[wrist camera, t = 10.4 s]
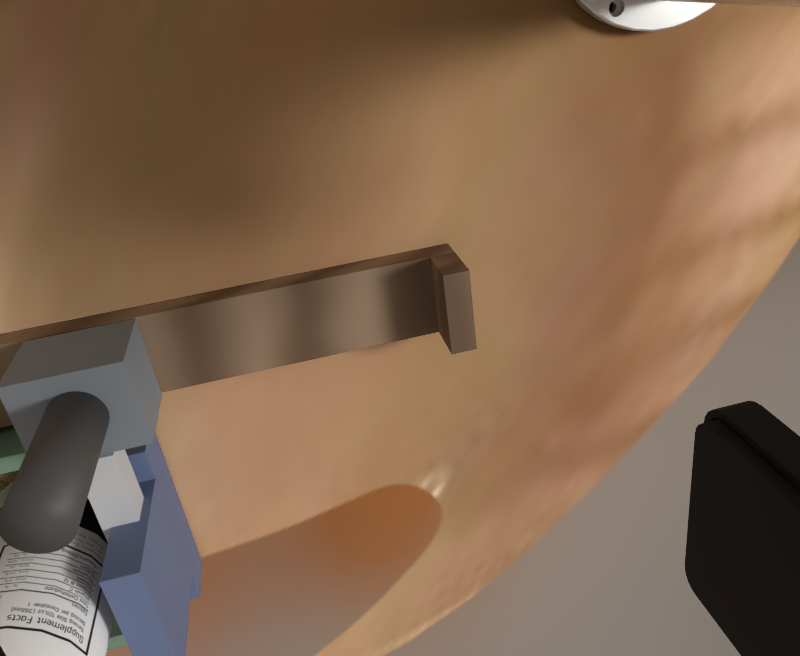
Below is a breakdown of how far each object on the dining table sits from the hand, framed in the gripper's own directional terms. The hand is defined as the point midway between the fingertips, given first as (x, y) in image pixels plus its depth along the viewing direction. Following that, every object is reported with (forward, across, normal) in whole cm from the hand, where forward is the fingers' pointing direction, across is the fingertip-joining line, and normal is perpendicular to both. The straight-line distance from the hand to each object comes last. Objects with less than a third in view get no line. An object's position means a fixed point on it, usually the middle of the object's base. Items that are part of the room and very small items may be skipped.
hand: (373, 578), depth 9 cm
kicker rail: (+32, +6, +11) cm, 35 cm away
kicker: (+32, +12, +18) cm, 39 cm away
